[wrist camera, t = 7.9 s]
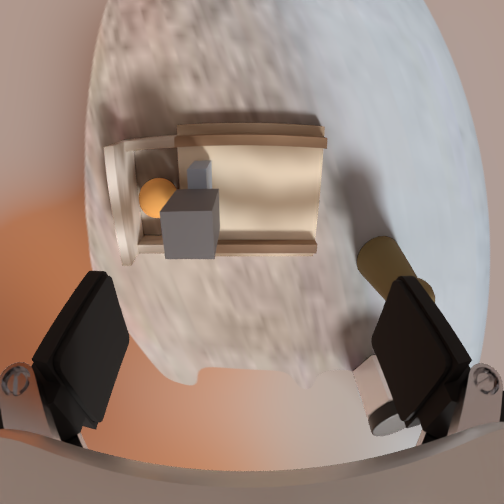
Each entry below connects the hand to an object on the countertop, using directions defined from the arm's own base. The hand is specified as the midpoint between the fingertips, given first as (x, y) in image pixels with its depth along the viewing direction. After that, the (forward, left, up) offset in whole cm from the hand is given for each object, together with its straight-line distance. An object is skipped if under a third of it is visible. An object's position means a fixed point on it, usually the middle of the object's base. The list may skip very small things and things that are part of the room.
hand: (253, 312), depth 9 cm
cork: (+10, +16, -22) cm, 29 cm away
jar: (+32, +22, -22) cm, 45 cm away
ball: (+2, -9, -20) cm, 22 cm away
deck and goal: (+2, -3, -22) cm, 22 cm away
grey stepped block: (+2, -4, -20) cm, 21 cm away
